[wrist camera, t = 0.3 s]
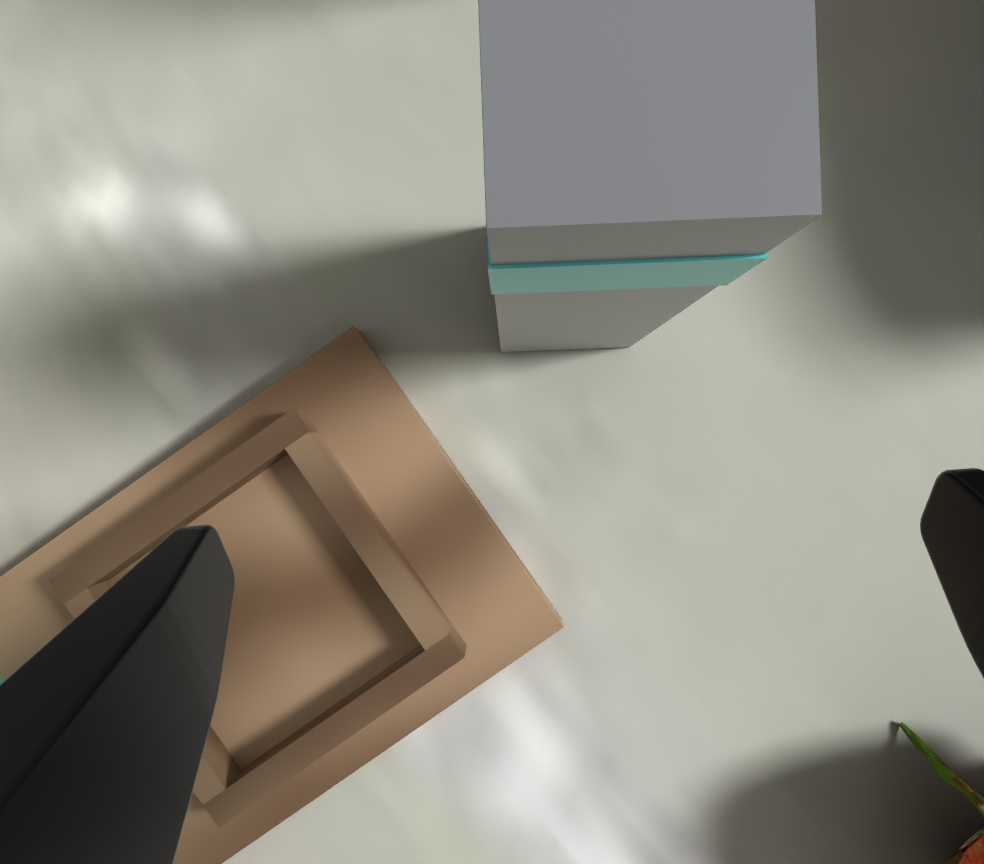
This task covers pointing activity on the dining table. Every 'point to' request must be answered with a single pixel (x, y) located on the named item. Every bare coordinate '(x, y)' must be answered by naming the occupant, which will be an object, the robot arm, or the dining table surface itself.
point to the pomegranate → (980, 854)
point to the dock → (307, 586)
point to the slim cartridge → (639, 157)
